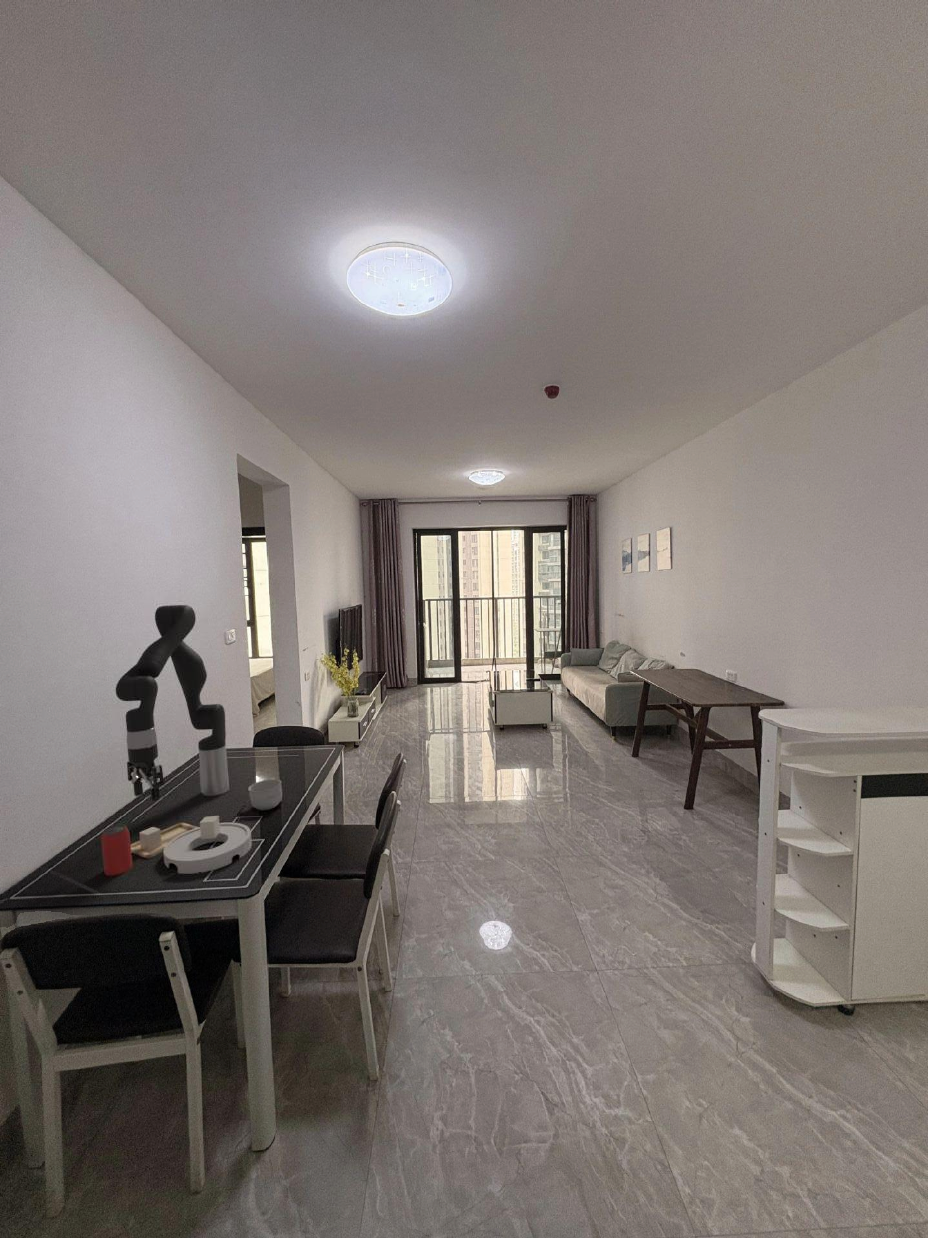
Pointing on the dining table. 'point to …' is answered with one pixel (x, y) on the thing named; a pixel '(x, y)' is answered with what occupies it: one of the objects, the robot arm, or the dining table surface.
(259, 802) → the teacup
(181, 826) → the tray
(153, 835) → the stone block
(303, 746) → the dining table surface
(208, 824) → the stone block
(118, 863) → the beer can
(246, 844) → the ashtray
